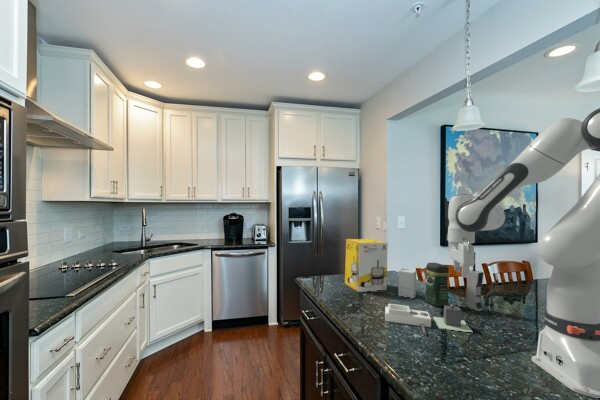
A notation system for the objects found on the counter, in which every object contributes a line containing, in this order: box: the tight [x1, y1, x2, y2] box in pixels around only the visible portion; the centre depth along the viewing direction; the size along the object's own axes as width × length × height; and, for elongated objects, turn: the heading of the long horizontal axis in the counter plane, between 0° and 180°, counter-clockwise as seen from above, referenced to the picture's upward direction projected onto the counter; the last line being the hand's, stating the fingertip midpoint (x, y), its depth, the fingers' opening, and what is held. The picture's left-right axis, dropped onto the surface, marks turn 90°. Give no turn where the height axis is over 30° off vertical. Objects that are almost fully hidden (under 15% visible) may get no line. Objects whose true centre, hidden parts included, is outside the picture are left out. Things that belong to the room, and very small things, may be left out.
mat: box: [432, 316, 474, 334], centre depth 109 cm, size 11×11×1 cm
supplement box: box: [397, 268, 417, 299], centre depth 144 cm, size 7×7×13 cm
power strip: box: [384, 303, 432, 337], centre depth 108 cm, size 16×16×4 cm
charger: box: [443, 303, 462, 327], centre depth 109 cm, size 4×5×7 cm
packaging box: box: [344, 238, 389, 293], centre depth 157 cm, size 16×16×25 cm
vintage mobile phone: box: [466, 251, 484, 312], centre depth 127 cm, size 4×5×25 cm
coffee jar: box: [424, 262, 450, 307], centre depth 133 cm, size 10×8×19 cm
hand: (460, 274), depth 108 cm, fingers open, 8 cm apart
